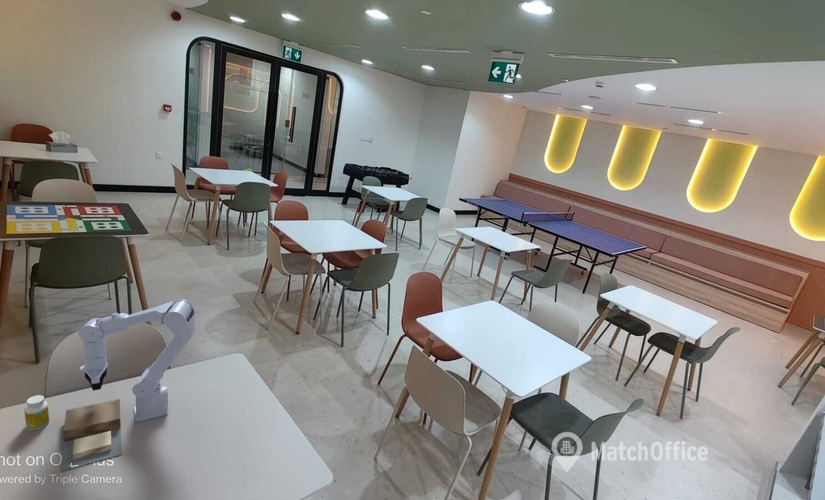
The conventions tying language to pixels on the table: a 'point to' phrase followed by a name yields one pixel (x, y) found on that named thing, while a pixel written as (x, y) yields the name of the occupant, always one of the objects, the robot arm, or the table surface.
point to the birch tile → (92, 445)
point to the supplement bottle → (36, 413)
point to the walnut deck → (92, 420)
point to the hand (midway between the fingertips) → (96, 388)
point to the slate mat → (100, 456)
